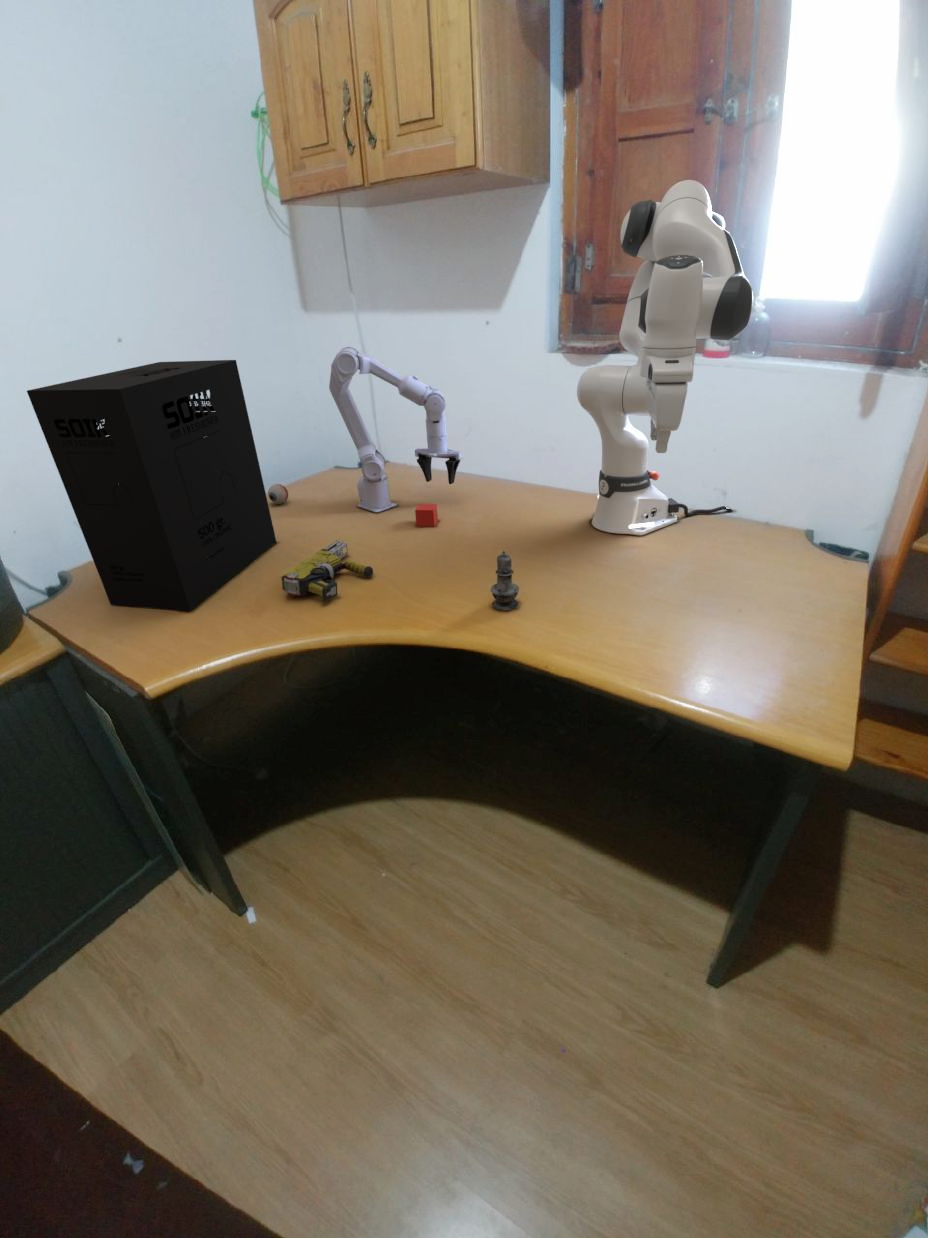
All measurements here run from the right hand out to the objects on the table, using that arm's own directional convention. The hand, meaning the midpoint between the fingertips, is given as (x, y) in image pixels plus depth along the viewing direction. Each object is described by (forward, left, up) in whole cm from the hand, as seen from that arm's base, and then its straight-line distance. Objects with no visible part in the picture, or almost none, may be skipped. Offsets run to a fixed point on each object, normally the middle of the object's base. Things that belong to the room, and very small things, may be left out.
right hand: (657, 445), depth 111 cm
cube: (+24, -62, -30) cm, 73 cm away
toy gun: (+55, -40, -30) cm, 74 cm away
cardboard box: (+83, -61, -30) cm, 108 cm away
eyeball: (+57, -102, -30) cm, 121 cm away
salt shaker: (+27, -9, -30) cm, 42 cm away
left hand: (+14, -76, -24) cm, 81 cm away
